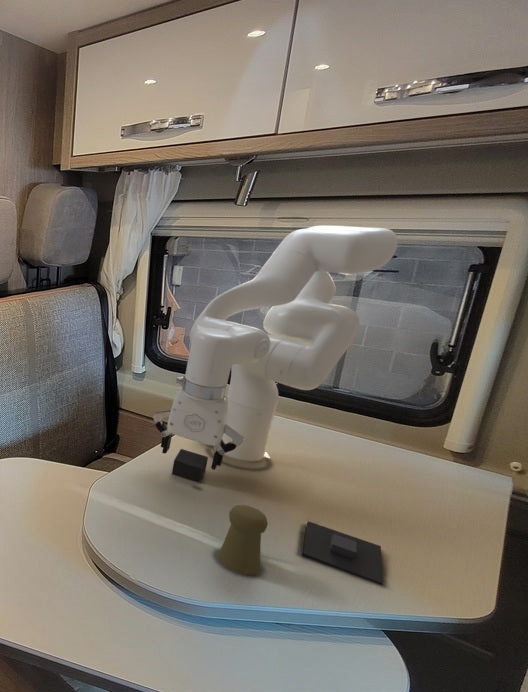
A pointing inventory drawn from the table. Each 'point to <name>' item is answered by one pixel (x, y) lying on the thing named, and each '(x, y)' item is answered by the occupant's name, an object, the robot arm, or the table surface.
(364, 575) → the base pad
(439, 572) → the table surface
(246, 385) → the robot arm
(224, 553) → the cork
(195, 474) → the pad
